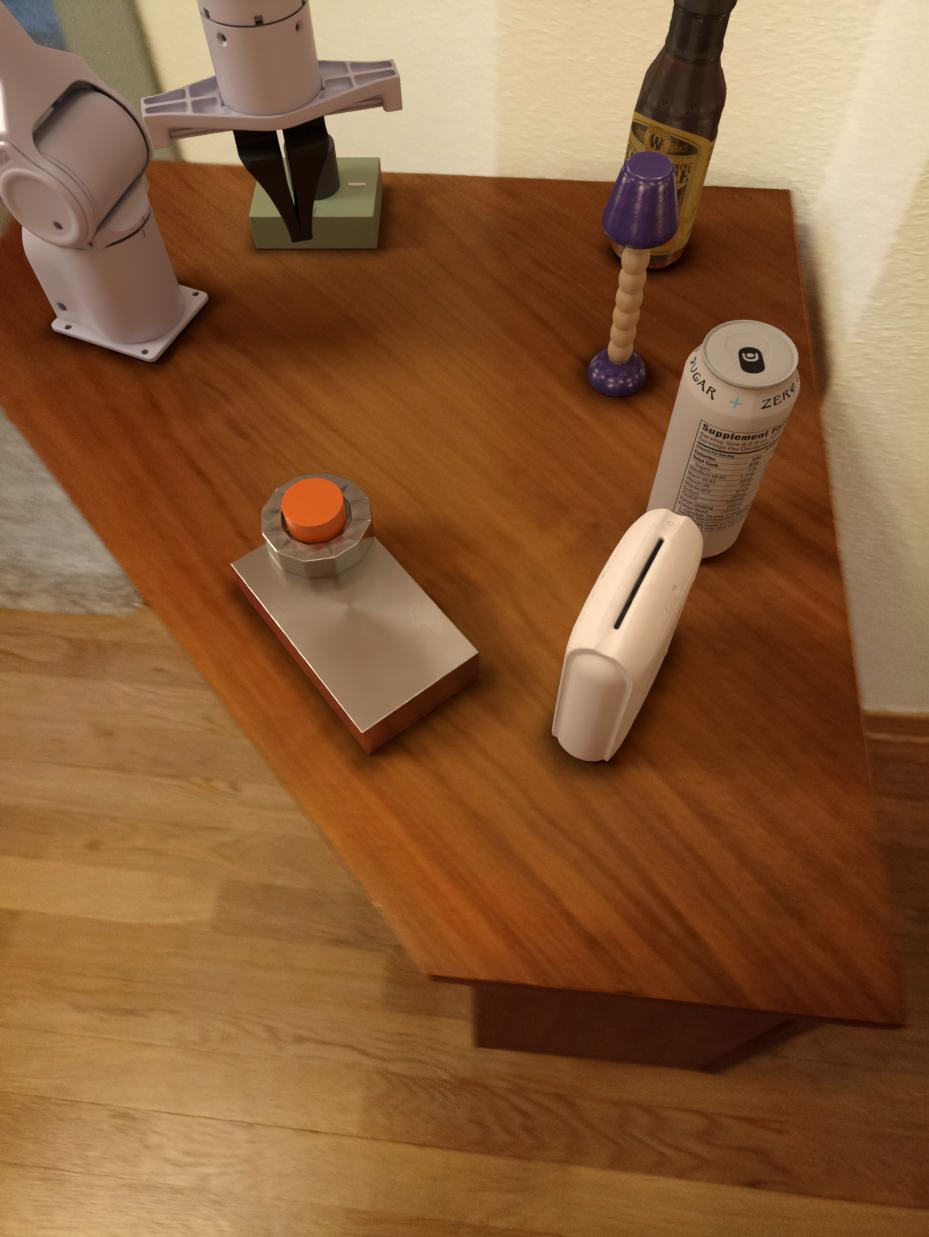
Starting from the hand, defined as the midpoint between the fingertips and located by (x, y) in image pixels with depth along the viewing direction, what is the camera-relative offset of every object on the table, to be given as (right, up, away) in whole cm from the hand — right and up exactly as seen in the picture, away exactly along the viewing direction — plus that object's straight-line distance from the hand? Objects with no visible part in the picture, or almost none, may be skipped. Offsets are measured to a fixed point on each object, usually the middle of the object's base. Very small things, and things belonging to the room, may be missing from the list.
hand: (300, 231), depth 58 cm
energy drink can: (+25, -19, 0) cm, 32 cm away
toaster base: (+4, -26, -4) cm, 27 cm away
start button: (+2, -19, -5) cm, 20 cm away
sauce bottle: (+26, +5, +15) cm, 30 cm away
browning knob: (-1, +10, +15) cm, 18 cm away
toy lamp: (+22, -8, +7) cm, 24 cm away
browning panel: (-1, +9, +17) cm, 19 cm away
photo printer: (+19, -29, -5) cm, 36 cm away
